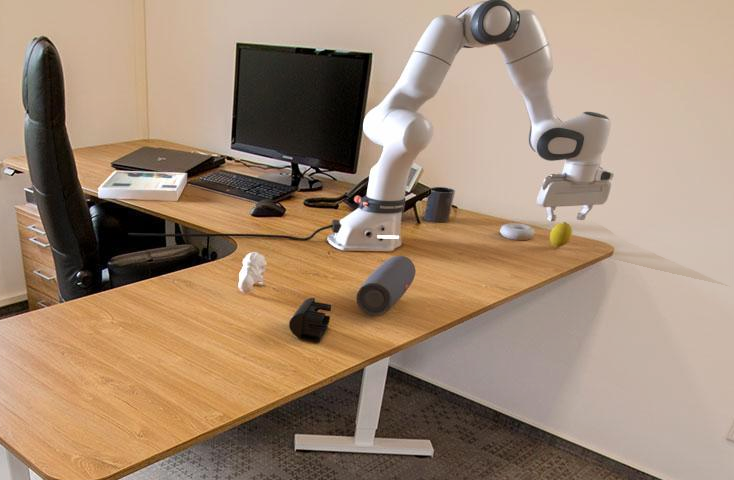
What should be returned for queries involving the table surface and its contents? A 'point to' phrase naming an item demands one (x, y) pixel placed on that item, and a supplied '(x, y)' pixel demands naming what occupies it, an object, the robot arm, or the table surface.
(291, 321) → the end cap
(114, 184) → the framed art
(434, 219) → the pen cup
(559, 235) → the lemon
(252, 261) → the white figurine
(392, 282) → the bluetooth speaker
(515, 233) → the donut
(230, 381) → the table surface
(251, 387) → the table surface
